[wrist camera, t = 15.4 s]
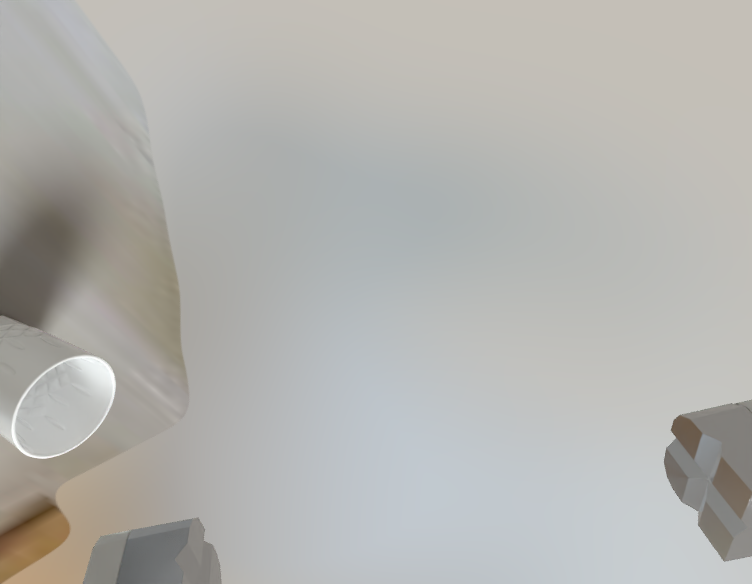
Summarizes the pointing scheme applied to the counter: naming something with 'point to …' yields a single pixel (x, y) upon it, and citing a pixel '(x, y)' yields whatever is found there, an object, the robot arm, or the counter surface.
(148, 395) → the counter surface
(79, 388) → the white cup
